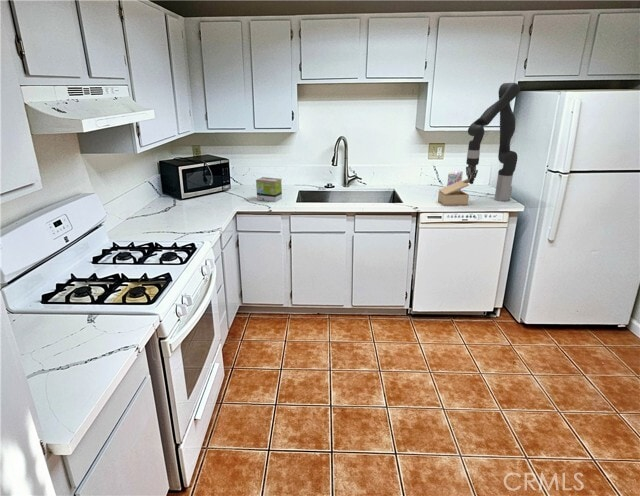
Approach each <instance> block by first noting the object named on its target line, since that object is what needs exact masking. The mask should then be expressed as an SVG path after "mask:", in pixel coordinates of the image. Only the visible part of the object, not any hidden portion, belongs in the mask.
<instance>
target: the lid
mask: <svg viewBox="0 0 640 496" xmlns="http://www.w3.org/2000/svg"><path fill="white" fill-rule="evenodd" d="M475 179H476V178H474V181H475ZM469 186H470V178H469V179H468V178H467V179H464V180H463V179H462V180H461V181H458V182H456V183H454V184H451V185H449V186H447V185H446V186H445V187H442V188H439V189H438V192H439V191H440V192H442V193H443V194H444V195H447V194H450V193H452V192H455V191H457V190H459V189H461V190H462V189H464V188H466V187H469Z"/></svg>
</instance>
